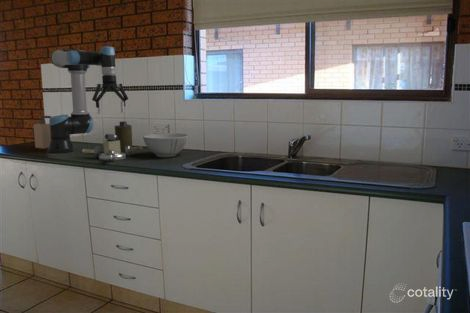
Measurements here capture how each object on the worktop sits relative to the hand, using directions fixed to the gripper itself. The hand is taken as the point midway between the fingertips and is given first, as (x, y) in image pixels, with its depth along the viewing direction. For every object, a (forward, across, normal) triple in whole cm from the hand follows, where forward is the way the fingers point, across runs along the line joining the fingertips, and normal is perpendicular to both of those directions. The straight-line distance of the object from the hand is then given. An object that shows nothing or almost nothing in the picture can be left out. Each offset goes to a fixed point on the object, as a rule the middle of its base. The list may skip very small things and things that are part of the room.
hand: (111, 113), depth 241 cm
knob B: (+26, -8, +14) cm, 31 cm away
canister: (+26, +12, +14) cm, 33 cm away
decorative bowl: (+27, +29, -9) cm, 40 cm away
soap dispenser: (+26, -18, +76) cm, 83 cm away
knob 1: (+26, -6, -10) cm, 29 cm away
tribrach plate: (+26, 0, +3) cm, 27 cm away
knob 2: (+26, +14, +4) cm, 30 cm away
